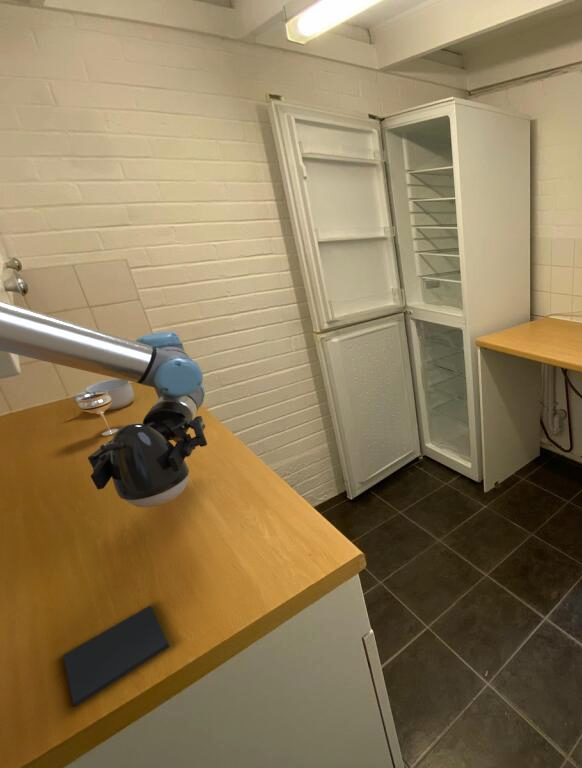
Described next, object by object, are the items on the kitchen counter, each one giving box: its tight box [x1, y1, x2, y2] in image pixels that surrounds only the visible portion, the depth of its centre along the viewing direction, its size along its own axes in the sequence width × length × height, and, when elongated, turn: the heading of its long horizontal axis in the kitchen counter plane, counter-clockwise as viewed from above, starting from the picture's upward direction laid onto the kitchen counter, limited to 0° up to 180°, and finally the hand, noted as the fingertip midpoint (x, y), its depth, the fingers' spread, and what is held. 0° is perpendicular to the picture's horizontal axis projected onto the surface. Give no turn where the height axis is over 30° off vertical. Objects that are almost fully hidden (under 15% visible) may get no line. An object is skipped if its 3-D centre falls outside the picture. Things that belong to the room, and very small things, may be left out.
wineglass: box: [76, 391, 119, 436], centre depth 118 cm, size 7×7×12 cm
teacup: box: [73, 378, 135, 412], centre depth 135 cm, size 14×11×8 cm
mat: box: [62, 605, 170, 708], centre depth 60 cm, size 10×10×1 cm
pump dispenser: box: [99, 422, 190, 508], centre depth 74 cm, size 10×10×15 cm
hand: (136, 473), depth 70 cm, fingers closed on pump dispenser, 10 cm apart
